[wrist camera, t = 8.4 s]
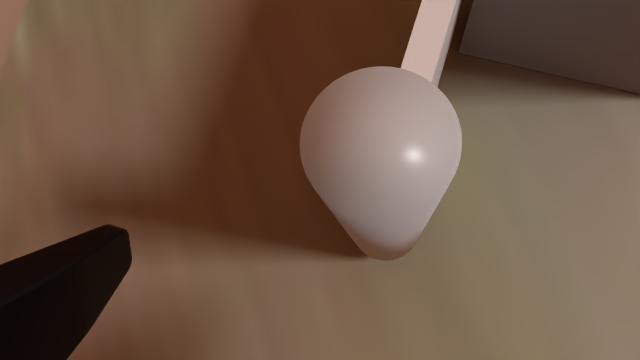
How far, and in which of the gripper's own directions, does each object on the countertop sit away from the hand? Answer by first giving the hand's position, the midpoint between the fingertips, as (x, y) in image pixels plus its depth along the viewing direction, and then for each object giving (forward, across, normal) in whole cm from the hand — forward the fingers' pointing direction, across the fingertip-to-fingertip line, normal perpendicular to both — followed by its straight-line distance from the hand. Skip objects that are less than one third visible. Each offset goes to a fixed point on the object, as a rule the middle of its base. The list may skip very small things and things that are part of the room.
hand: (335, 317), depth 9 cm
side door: (+12, 0, +1) cm, 12 cm away
